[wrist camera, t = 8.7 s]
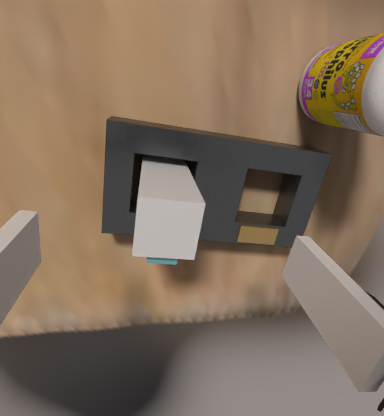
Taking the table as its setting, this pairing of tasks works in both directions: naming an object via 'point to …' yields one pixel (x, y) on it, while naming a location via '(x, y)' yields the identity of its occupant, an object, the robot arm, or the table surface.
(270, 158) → the panel
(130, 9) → the table surface
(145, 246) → the plug
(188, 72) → the table surface
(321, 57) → the supplement bottle
